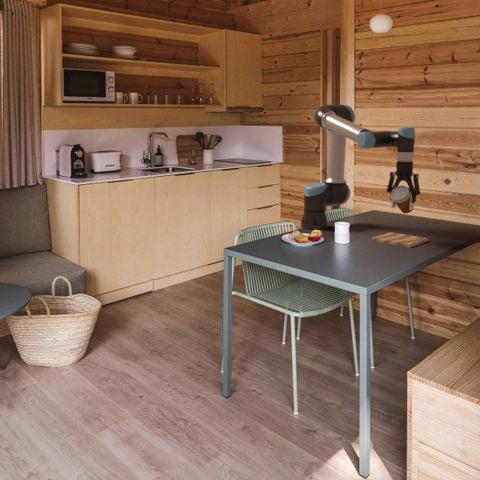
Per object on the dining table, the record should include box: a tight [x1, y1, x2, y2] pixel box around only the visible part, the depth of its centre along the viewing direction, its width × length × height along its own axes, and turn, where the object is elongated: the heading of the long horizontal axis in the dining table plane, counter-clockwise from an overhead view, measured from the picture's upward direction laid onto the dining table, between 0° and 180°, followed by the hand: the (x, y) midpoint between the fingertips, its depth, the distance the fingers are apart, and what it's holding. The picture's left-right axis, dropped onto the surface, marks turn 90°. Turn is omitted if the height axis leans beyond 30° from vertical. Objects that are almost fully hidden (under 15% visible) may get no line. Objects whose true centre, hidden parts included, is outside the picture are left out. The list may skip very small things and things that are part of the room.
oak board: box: [370, 232, 429, 249], centre depth 267 cm, size 20×18×2 cm
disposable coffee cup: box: [390, 185, 413, 214], centre depth 264 cm, size 10×10×12 cm
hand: (402, 208), depth 264 cm, fingers closed on disposable coffee cup, 9 cm apart
